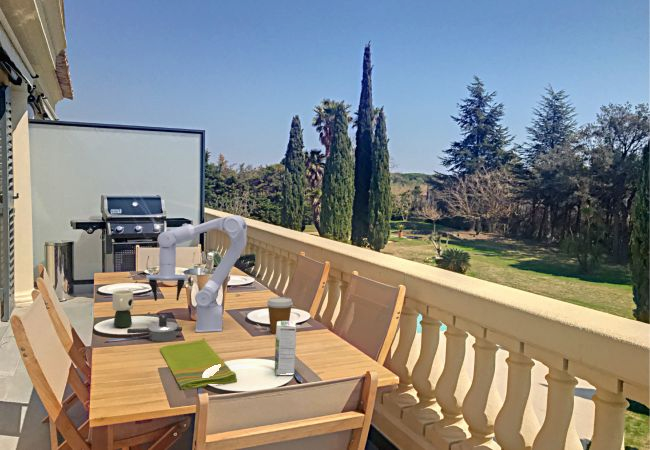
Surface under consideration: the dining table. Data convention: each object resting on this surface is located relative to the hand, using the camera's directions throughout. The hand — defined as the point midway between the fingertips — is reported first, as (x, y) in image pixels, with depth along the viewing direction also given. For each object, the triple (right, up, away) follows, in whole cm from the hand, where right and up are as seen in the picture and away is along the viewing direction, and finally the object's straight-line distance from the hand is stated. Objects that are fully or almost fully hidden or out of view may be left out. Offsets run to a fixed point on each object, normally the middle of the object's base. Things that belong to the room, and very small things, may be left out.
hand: (166, 300), depth 190 cm
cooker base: (0, -11, -12) cm, 16 cm away
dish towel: (+20, -15, -37) cm, 44 cm away
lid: (+2, -9, -12) cm, 15 cm away
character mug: (-16, -10, +1) cm, 19 cm away
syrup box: (+47, -15, -41) cm, 64 cm away
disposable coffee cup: (+41, -12, 0) cm, 43 cm away
